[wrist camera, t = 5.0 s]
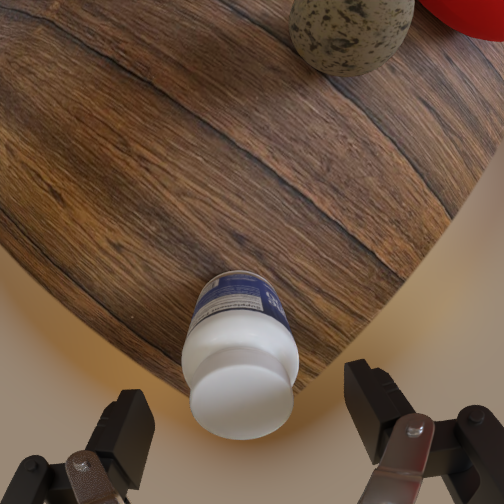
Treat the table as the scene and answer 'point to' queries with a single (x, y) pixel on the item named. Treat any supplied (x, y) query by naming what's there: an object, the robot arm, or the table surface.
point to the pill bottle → (240, 358)
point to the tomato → (471, 17)
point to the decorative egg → (349, 33)
